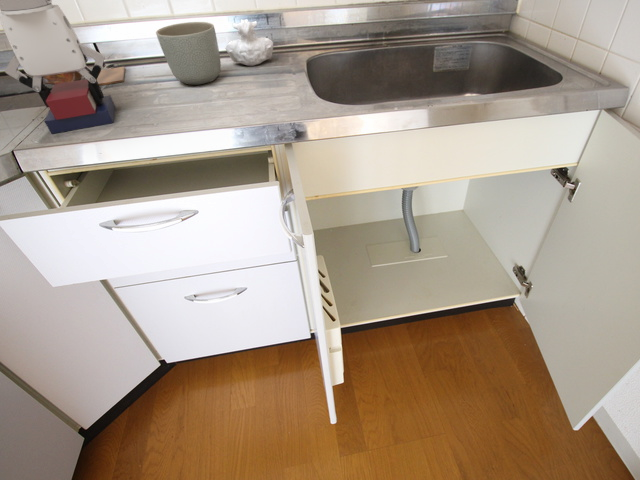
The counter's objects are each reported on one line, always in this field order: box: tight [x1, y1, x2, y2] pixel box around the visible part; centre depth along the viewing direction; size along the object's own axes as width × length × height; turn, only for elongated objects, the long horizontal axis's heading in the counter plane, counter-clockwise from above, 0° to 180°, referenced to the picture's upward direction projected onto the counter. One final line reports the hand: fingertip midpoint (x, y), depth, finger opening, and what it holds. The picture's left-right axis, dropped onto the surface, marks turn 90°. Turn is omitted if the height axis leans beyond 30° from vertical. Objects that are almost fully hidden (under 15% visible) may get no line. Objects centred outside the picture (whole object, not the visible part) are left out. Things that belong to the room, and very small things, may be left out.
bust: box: [225, 18, 274, 67], centre depth 98 cm, size 12×8×11 cm
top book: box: [46, 78, 97, 120], centre depth 76 cm, size 7×10×4 cm
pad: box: [84, 66, 126, 87], centre depth 98 cm, size 9×12×1 cm
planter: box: [155, 21, 222, 86], centre depth 90 cm, size 12×12×11 cm
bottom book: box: [43, 94, 117, 135], centre depth 78 cm, size 11×9×2 cm
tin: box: [43, 71, 83, 85], centre depth 94 cm, size 15×3×8 cm, turn 72°
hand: (78, 105), depth 77 cm, fingers open, 7 cm apart
